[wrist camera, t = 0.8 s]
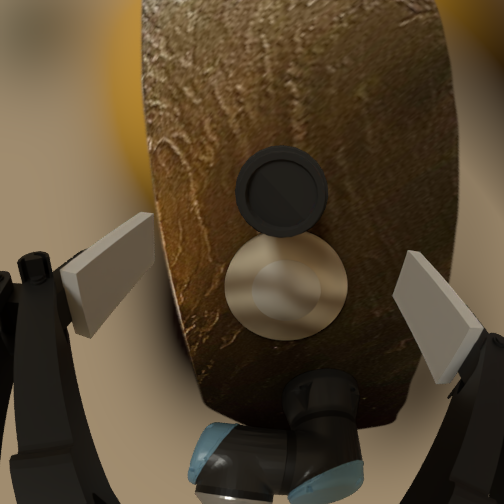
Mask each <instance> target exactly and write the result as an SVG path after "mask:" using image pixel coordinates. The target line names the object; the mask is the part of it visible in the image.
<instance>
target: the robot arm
mask: <svg viewBox="0 0 504 504" xmlns="http://www.w3.org/2000/svg"><path fill="white" fill-rule="evenodd" d="M154 262H155V255H154V214H152V213H144V212H140V213H138V214H137V215H135V216H134V217H133V218H131V219H129V220H128V221H126V222H125V223H123V224H122V225H120V226H119V227H117V228H116V229H115V230H113V231H112V232H110V233H109V234H108V235H106V236H105V237H103V238H102V239H100V240H99V241H98V242H96V243H95V244H93V245H92V246H91V247H89V248H87V249H85V250H82V251H80V252H79V253H77V254H76V255H74V256H73V258H70V259H69V260H68V261H67V262H65V263H64V264H63V265H61V266H60V267H58V268H57V269H56V270H55V271H53V272H52V268H51V263H50V257H49V254H48V253H46V252H41V251H38V252H32V253H29V254H26V255H24V256H22V257H21V258H20V259H19V260H18V262H17V264H18V268H19V272H20V276H21V280H22V284H19V283H18V284H17V283H12V279H11V276H10V273H9V272H6V271H0V458H1V448H2V439H3V432H4V426H5V420H6V414H7V409H8V404H9V399H10V394H11V390H12V386H13V382H14V410H15V422H16V433H17V441H18V454H16V455H12V456H11V458H10V461H9V462H10V473H11V479H12V484H13V488H14V493H15V497H16V501H17V504H120V502H119V501H118V499H117V497H116V496H115V494H114V492H113V491H112V489H111V487H110V485H109V482H108V480H107V478H106V475H105V473H104V470H103V468H102V465H101V462H100V460H99V457H98V454H97V451H96V448H95V445H94V442H93V439H92V436H91V433H90V430H89V426H88V423H87V419H86V416H85V412H84V409H83V405H82V401H81V396H80V393H79V388H78V383H77V379H76V374H75V369H74V363H73V358H72V352H71V346H70V340H69V333H68V330H67V326H68V325H69V324H70V323H71V322H72V323H73V327H74V330H75V333H76V334H79V335H82V336H85V337H87V338H90V339H91V338H92V337H93V335H94V334H95V333H96V332H97V330H98V329H99V328H100V327H101V325H102V324H103V323H104V322H105V320H106V319H107V318H108V317H109V315H110V314H111V313H112V312H113V310H114V309H115V308H116V307H117V306H118V305H119V303H120V302H121V301H122V300H123V299H124V297H125V296H126V295H127V294H128V293H129V291H130V290H131V289H132V288H133V287H134V285H135V284H136V283H137V282H138V281H139V280H140V279H141V277H142V276H143V275H144V274H145V273H146V272H147V271H148V269H149V268H150V267H151V266H152V265H153V264H154ZM393 298H394V299H395V301H396V303H397V305H398V307H399V309H400V311H401V312H402V314H403V316H404V318H405V320H406V322H407V324H408V326H409V328H410V330H411V332H412V334H413V336H414V338H415V340H416V342H417V344H418V346H419V348H420V350H421V352H422V354H423V356H424V358H425V360H426V363H427V365H428V367H429V369H430V371H431V374H432V376H433V378H434V380H435V382H436V384H444V383H450V382H451V381H452V380H453V378H454V377H455V375H456V374H457V372H458V373H459V375H460V377H461V379H460V381H459V382H458V384H457V385H456V386H455V388H454V389H453V390H452V392H451V393H450V395H449V396H448V397H447V398H448V399H449V398H450V397H451V396H452V399H451V402H450V404H449V407H448V410H447V412H446V415H445V417H444V420H443V422H442V425H441V427H440V429H439V432H438V434H437V436H436V438H435V440H434V443H433V445H432V447H431V449H430V451H429V453H428V455H427V457H426V459H425V461H424V463H423V464H422V466H421V468H420V470H419V472H418V474H417V475H416V477H415V479H414V481H413V483H412V485H411V486H410V488H409V489H408V491H407V492H406V494H405V496H404V497H403V499H402V500H401V502H400V504H504V337H502V336H501V335H499V334H496V333H490V334H489V333H488V332H487V331H486V329H485V328H484V327H483V325H482V324H481V323H480V321H479V320H478V319H477V318H476V316H475V315H474V314H473V313H472V311H471V310H470V309H469V307H468V306H467V305H466V304H465V303H464V302H463V301H462V300H461V298H460V297H459V296H458V295H457V294H456V292H455V291H454V290H453V289H452V288H451V287H450V285H449V284H448V283H447V282H446V281H445V279H444V278H443V277H442V276H441V275H440V274H439V273H438V272H437V270H436V269H435V268H434V267H433V266H432V265H431V264H430V263H429V262H428V261H427V259H426V258H425V257H424V256H423V255H422V254H421V253H420V252H416V251H410V250H408V251H407V255H406V258H405V261H404V264H403V267H402V270H401V273H400V276H399V279H398V282H397V285H396V287H395V290H394V293H393ZM359 398H360V394H359V389H358V384H357V382H356V380H355V379H354V378H353V377H352V376H351V375H350V374H348V373H346V372H343V371H340V370H335V369H318V370H313V371H309V372H306V373H303V374H301V375H299V376H297V377H296V378H294V379H293V380H291V381H290V382H289V383H288V384H287V385H286V387H285V388H284V390H283V394H282V407H283V410H284V413H285V415H286V418H287V420H288V422H289V425H290V427H291V430H280V429H269V428H260V427H251V426H244V425H240V424H238V423H236V424H228V423H220V422H215V423H212V424H210V425H208V426H207V427H206V428H205V430H204V431H203V433H202V434H201V436H200V438H199V440H198V442H197V445H196V447H195V450H194V453H193V456H192V458H191V462H190V468H189V471H188V480H189V481H190V482H191V483H192V484H195V485H196V484H197V486H196V490H195V495H196V496H197V497H198V498H199V500H200V501H201V502H202V504H272V502H273V495H274V494H275V495H288V500H289V502H290V503H291V504H328V503H332V502H335V501H338V500H341V499H343V498H346V497H348V496H350V495H351V494H353V493H355V492H356V491H357V490H358V489H359V488H360V487H361V485H362V484H363V481H364V474H363V465H364V462H363V461H362V455H361V449H360V443H359V438H358V432H357V427H356V421H355V418H356V413H357V408H358V403H359Z"/></svg>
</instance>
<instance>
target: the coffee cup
mask: <svg viewBox="0 0 504 504" xmlns="http://www.w3.org/2000/svg"><path fill="white" fill-rule="evenodd" d="M235 195H236V203H237V206H238V208H239V210H240V213H241V215H242V216H243V218H244V219H245V220H246V222H247V223H248V224H249V225H250V226H252V227H253V228H254V229H255V230H257V231H258V232H261V233H263V234H265V235H267V236H272V237H277V238H286V237H293V236H296V235H299V234H302V233H304V232H305V231H307V230H309V229H310V228H312V227H313V226H314V225H315V224H316V222H317V221H318V220H319V219H320V218H321V216H322V214H323V212H324V210H325V208H326V204H327V199H328V187H327V181H326V178H325V175H324V172H323V170H322V169H321V167H320V166H319V164H318V163H317V161H316V160H314V159H313V158H312V157H311V156H310V155H309V154H308V153H306V152H304V151H302V150H300V149H298V148H295V147H290V146H284V145H282V146H271V147H268V148H265V149H263V150H260V151H258V152H257V153H256V154H254V155H253V156H251V157H250V158H249V159H248V160H247V162H246V163H245V164H244V165H243V166H242V168H241V171H240V173H239V175H238V177H237V182H236V189H235Z"/></svg>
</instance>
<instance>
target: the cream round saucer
mask: <svg viewBox="0 0 504 504" xmlns="http://www.w3.org/2000/svg"><path fill="white" fill-rule="evenodd" d="M225 295H226V299H227V303H228V305H229V307H230V310H231V311H232V313H233V314H234V316H235V317H236V318H237V320H238V321H239V322H240V323H241V324H242V325H244V326H245V327H246V328H247V329H249V330H250V331H252V332H254V333H256V334H258V335H260V336H263V337H266V338H269V339H275V340H297V339H302V338H305V337H308V336H311V335H313V334H315V333H317V332H319V331H321V330H322V329H324V328H325V327H327V326H328V325H329V324H330V323H331V322H332V321H333V320H334V319H335V318H336V317H337V315H338V314H339V312H340V311H341V309H342V307H343V305H344V302H345V299H346V295H347V276H346V272H345V269H344V267H343V264H342V262H341V260H340V258H339V256H338V255H337V253H336V252H335V251H334V249H333V248H332V247H331V246H330V245H329V244H328V243H327V242H325V241H324V240H322V239H321V238H320V237H318V236H316V235H314V234H311V233H309V232H306V231H305V232H304V233H302V234H299V235H296V236H293V237H286V238H277V237H272V236H267V235H265V234H263V233H262V234H260V235H258V236H255V237H254V238H252V239H251V240H249V241H248V242H247V243H245V244H244V245H243V246H242V247H241V248H240V249H239V250H238V251H237V253H236V254H235V256H234V257H233V259H232V261H231V263H230V265H229V268H228V271H227V274H226V279H225Z"/></svg>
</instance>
